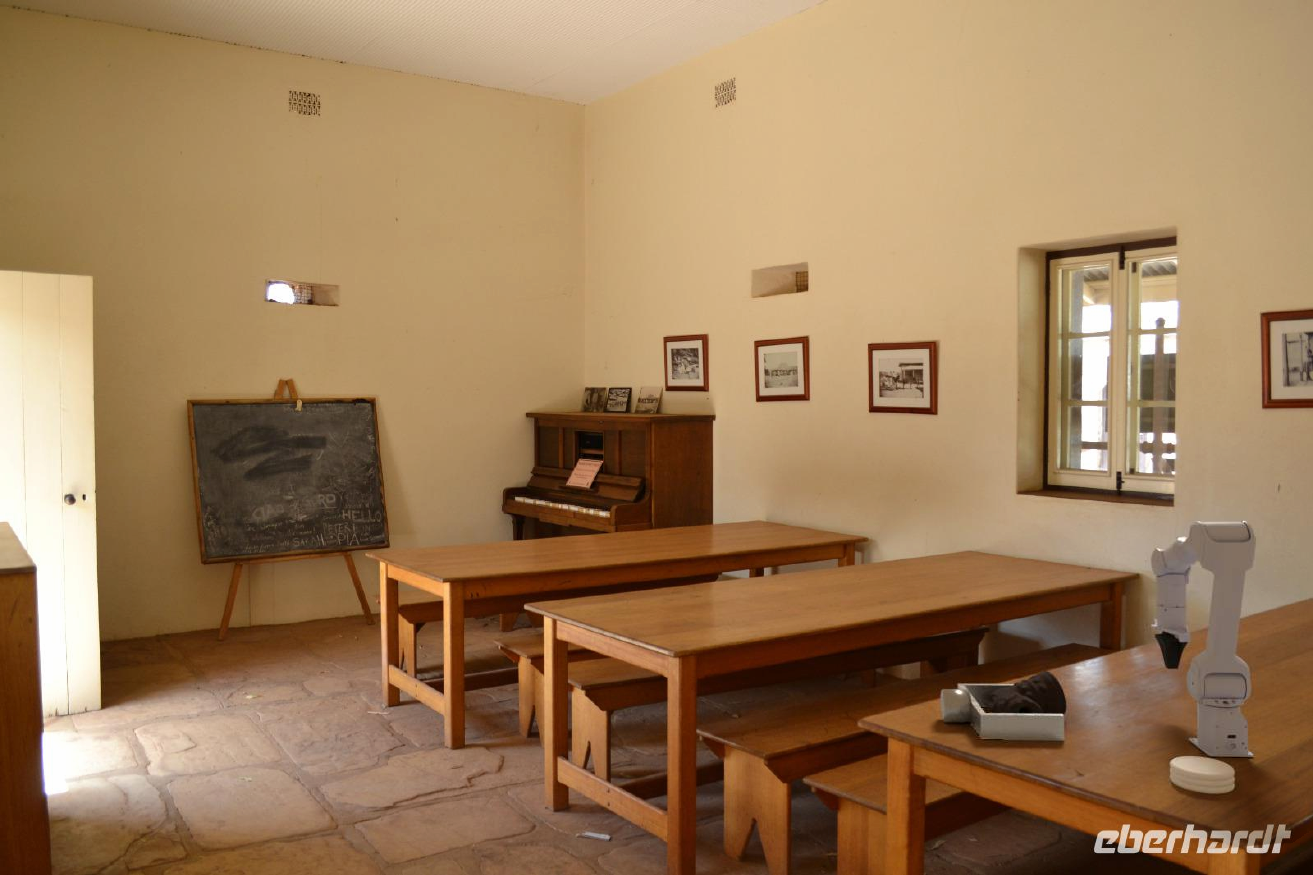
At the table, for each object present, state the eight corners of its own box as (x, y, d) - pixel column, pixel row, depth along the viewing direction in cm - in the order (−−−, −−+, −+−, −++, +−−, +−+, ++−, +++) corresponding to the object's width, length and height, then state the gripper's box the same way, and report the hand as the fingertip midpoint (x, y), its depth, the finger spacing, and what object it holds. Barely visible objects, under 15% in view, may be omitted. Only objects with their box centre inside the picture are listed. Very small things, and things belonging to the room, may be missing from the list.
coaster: (1207, 772, 183) (1207, 753, 183) (1248, 792, 173) (1248, 772, 173) (1157, 776, 181) (1157, 757, 181) (1195, 797, 172) (1195, 776, 171)
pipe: (1003, 696, 207) (1071, 679, 209) (973, 681, 222) (1037, 666, 223) (1013, 742, 207) (1081, 726, 208) (982, 725, 222) (1046, 709, 223)
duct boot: (1064, 740, 201) (1064, 706, 201) (954, 739, 203) (953, 705, 203) (1032, 706, 224) (1032, 676, 224) (934, 705, 226) (933, 675, 226)
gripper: (1139, 598, 224) (1139, 659, 224) (1165, 611, 210) (1165, 676, 210) (1172, 598, 223) (1172, 659, 224) (1201, 611, 209) (1201, 677, 209)
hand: (1171, 668), depth 217 cm, fingers closed
